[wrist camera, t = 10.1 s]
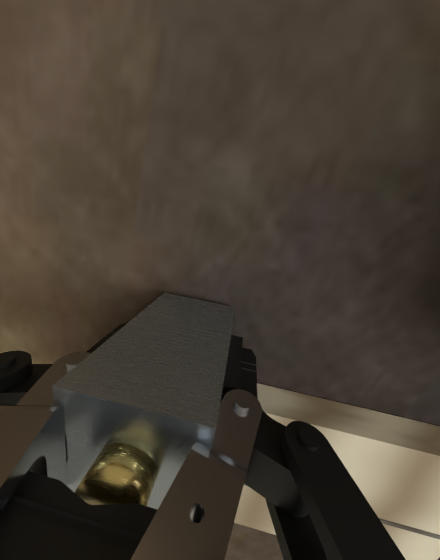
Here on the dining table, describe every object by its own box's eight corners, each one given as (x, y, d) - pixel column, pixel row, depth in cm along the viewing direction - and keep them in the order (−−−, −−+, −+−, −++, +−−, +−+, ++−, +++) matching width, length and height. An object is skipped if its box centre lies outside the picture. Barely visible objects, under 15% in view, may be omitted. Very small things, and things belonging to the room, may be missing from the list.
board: (464, 432, 12) (507, 473, 10) (400, 531, 15) (423, 579, 13) (143, 356, 14) (125, 379, 12) (135, 457, 16) (119, 490, 14)
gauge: (235, 307, 11) (209, 468, 4) (208, 443, 14) (162, 685, 7) (164, 292, 12) (17, 414, 4) (151, 428, 15) (48, 643, 7)
